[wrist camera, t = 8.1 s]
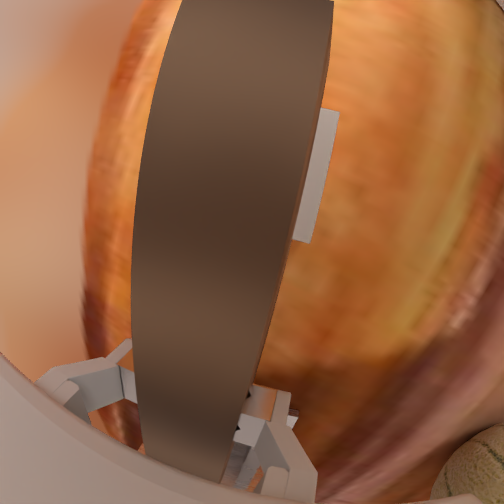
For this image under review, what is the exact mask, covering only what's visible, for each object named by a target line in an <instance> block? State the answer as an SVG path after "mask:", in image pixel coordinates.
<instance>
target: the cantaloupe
mask: <svg viewBox="0 0 504 504" xmlns="http://www.w3.org/2000/svg"><path fill="white" fill-rule="evenodd" d="M466 493H470V494H473V495H474V496H476V497H477V498H478V499H479V500H480V501H481V502H482V503H483V504H504V422H503V423H499V424H497V425H494V426H491V427H490V428H488V429H486V430H484V431H482V432H480V433H478V434H477V435H475V436H474V437H473V438H471V439H470V440H469V441H467V442H466V443H464V444H463V445H462V446H460V447H459V448H458V449H457V450H456V451H455V452H454V453H453V454H452V456H451V457H450V458H449V459H448V461H447V462H446V463H445V464H444V466H443V468H442V470H441V471H440V473H439V475H438V477H437V479H436V481H435V483H434V485H433V488H432V491H431V496H430V500H435V499H441V498H446V497H451V496H456V495H460V494H466Z"/></svg>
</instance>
